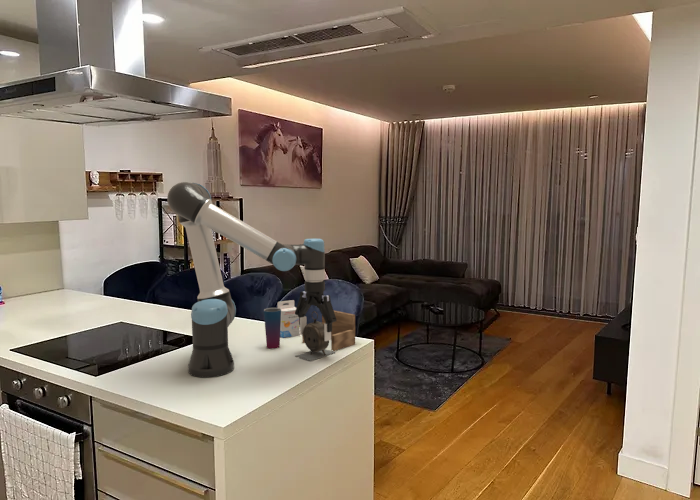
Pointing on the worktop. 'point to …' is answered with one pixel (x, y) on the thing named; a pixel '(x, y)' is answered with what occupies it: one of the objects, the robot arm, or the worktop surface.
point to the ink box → (288, 320)
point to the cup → (272, 327)
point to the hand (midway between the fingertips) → (315, 337)
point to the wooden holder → (342, 330)
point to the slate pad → (314, 355)
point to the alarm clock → (315, 336)
